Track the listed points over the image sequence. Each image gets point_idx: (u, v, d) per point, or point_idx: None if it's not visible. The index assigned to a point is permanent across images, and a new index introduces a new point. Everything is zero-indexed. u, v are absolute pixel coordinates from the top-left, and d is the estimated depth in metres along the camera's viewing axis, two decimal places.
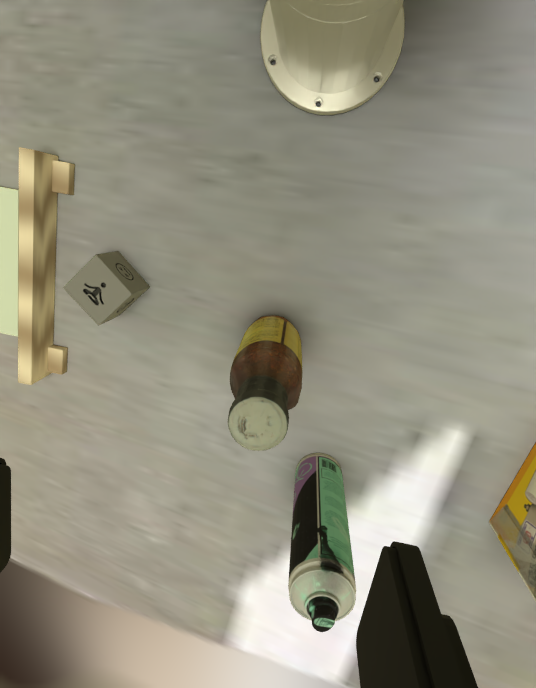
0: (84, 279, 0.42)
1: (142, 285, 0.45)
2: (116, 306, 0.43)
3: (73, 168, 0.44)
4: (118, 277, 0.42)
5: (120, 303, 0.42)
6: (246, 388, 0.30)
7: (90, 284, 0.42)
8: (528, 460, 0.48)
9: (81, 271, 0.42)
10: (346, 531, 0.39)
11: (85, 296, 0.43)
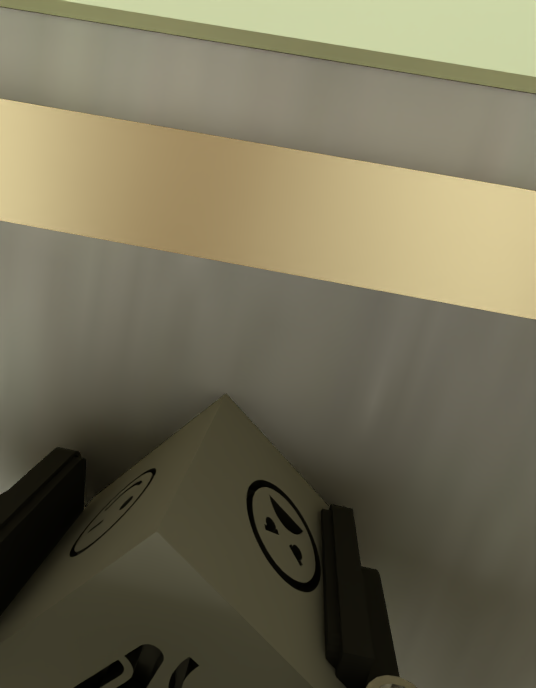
0: (221, 665, 0.06)
1: None
2: None
3: None
4: None
5: None
6: None
7: None
8: None
9: (272, 658, 0.06)
10: None
11: (113, 649, 0.07)
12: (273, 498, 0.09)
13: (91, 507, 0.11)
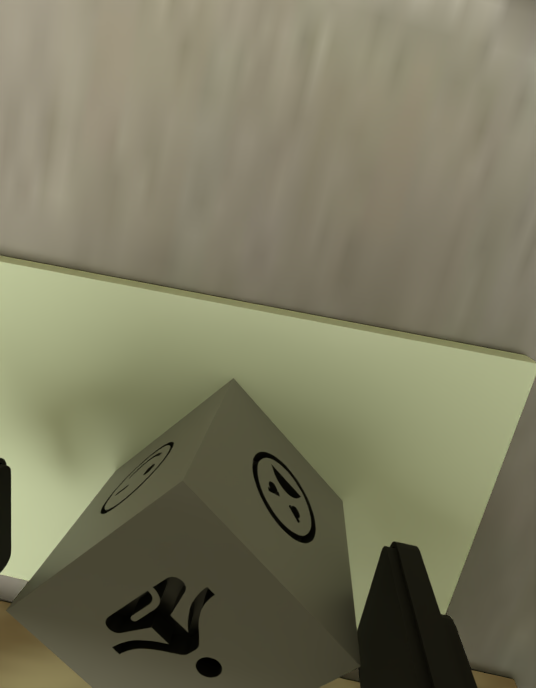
0: (233, 594, 0.08)
1: None
2: None
3: None
4: None
5: None
6: None
7: (208, 615, 0.08)
8: None
9: (275, 587, 0.08)
10: None
11: (144, 582, 0.08)
12: (275, 467, 0.11)
13: (113, 479, 0.12)
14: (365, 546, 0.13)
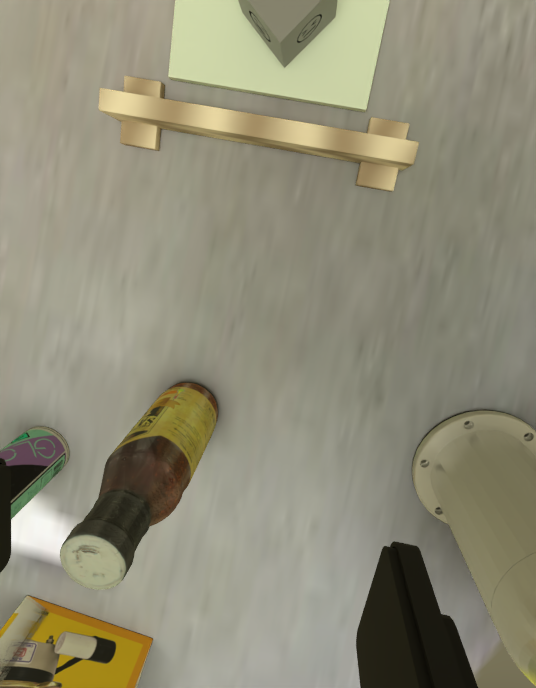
0: None
1: (287, 56, 0.32)
2: (261, 13, 0.28)
3: (386, 190, 0.36)
4: (304, 19, 0.28)
5: (265, 21, 0.28)
6: (133, 520, 0.26)
7: None
8: (95, 622, 0.52)
9: None
10: None
11: None
12: None
13: None
14: (340, 40, 0.33)
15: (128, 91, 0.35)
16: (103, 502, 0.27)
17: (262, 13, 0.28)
